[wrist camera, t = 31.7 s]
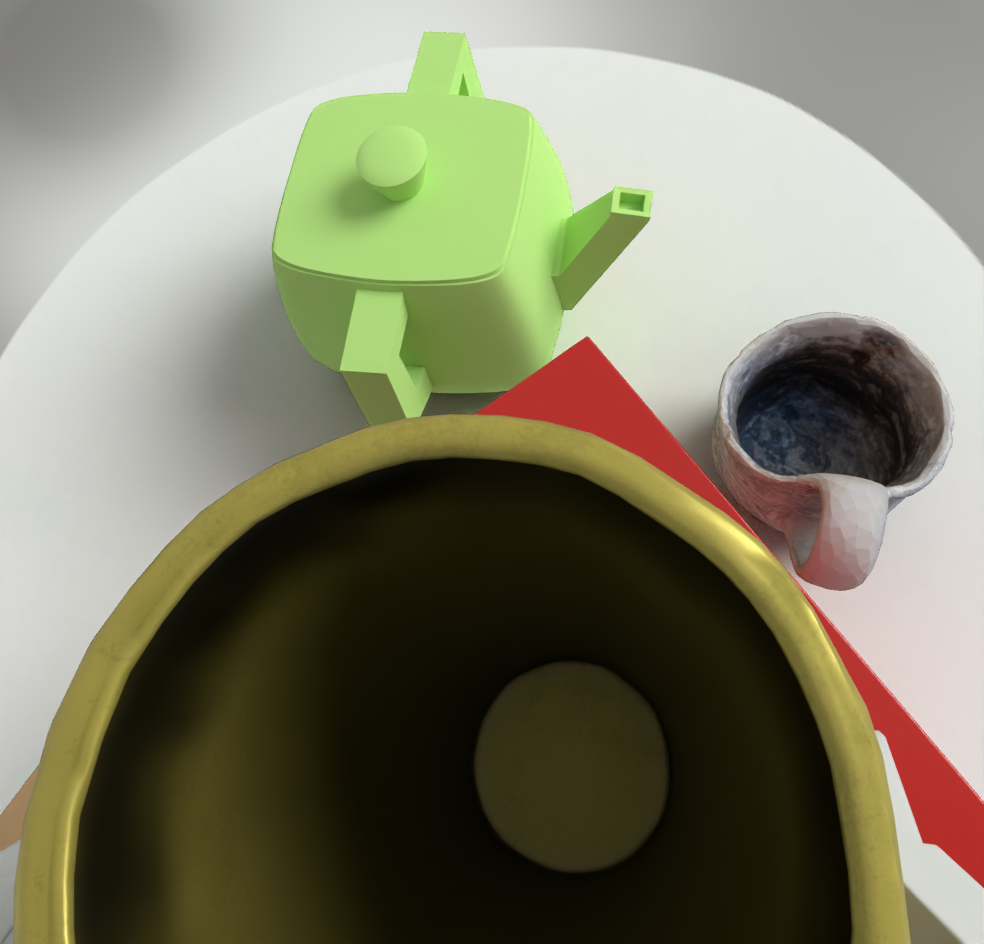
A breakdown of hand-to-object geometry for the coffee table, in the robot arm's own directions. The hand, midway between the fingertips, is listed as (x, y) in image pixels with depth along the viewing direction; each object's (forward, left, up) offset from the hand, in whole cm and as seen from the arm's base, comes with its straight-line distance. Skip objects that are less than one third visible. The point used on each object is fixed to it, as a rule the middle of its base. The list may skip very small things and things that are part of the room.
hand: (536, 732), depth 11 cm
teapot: (+9, +22, -29) cm, 38 cm away
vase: (0, 0, -8) cm, 8 cm away
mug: (+16, +3, -29) cm, 33 cm away
